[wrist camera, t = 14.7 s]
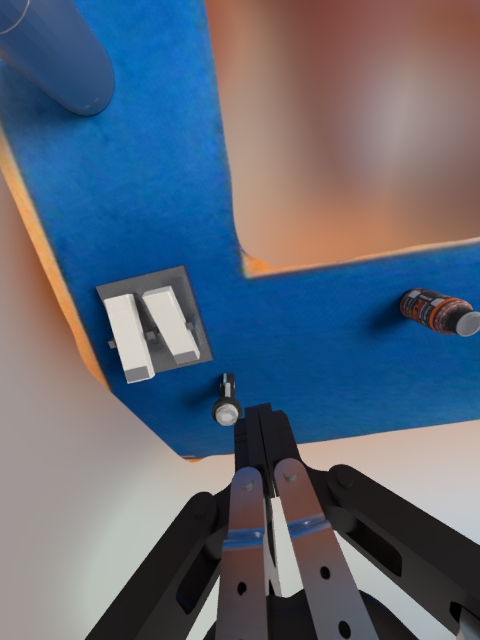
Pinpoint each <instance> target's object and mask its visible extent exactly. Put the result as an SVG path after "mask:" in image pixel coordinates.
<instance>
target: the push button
mask: <svg viewBox="0 0 480 640" xmlns="http://www.w3.org/2000/svg"><path fill="white" fill-rule="evenodd" d="M220 384H221V385H220V392H219V394H220V396H221V398H220V399H218V400H217V401H216V402H215V403H214V406H213V408H212V417H213V419H214V420H215V421H216V422H217V423H219V424H222V425H226V426H227V425H232V424H234V423H236V422H237V419H240V418H241V416H242V408H241V406H240V404H239V401H238V400H237V399H235V398H233V397H234V396H235V382H234V374H228V373H224V381H223V383H221V381H220ZM237 408H238V411H237ZM216 409H217V411H216Z"/></svg>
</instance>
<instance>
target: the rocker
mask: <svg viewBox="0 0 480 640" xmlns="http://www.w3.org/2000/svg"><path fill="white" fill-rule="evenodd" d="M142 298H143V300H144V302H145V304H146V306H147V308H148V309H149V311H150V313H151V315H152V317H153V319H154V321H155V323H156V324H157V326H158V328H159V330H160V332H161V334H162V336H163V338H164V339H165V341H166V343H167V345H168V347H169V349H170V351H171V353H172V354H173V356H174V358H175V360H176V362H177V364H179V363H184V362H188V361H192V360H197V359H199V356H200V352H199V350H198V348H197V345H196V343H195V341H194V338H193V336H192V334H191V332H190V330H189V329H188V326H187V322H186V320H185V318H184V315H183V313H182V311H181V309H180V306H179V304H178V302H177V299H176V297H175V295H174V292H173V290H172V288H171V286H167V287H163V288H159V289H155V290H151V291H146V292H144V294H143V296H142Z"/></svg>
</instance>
